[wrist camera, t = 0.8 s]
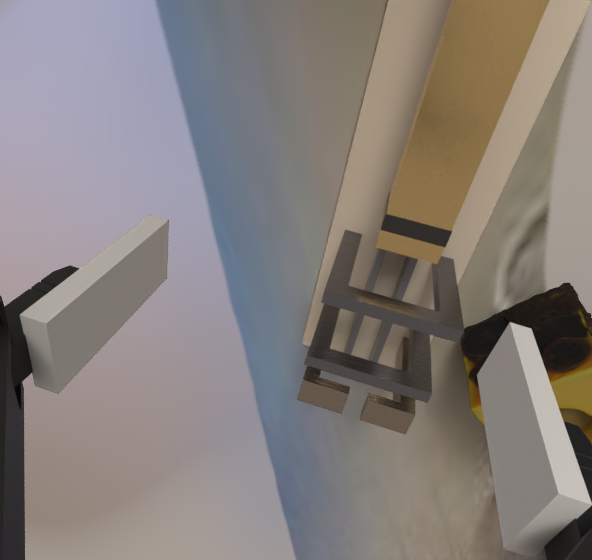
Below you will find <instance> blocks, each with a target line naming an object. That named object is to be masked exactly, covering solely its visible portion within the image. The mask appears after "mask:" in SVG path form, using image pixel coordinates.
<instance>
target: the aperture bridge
mask: <svg viewBox="0 0 592 560" xmlns="http://www.w3.org/2000/svg"><path fill="white" fill-rule="evenodd" d="M408 357H409V338H407V337H403V339H402V341H401V344H400V346H399V349H398V351H397V353H396V361H395V368H396V369H399V370H402V371H406V372H408ZM320 372H321V370H320V369H317V368H313V367H310V366H307V368H306V371H305V374H304V377H303V381H302V384H301V388H300V392H299V395H298V399H297V400H300V401H303V402H306V403H309V404H312V405H315V406H318V407H322V408H325V409H328V410H331V411H334V412H337V413H340V414H341V413H342V410H343V408H344V405H345V402H346V399H347V397H348V394H349V388H350V387H348V386H345V385H342V384H338V383H335V382H332V381H329V380H325V379H322V378H319V375H320ZM414 416H415V399H413V398H410V397H407V396H404V395H401V394H397V393H394V392H393V400H390V399H386V398H383V397H380V396H377V395H374V394H370V393H369V394H368V397H367V399H366V402H365V404H364V407H363V409H362V412H361V417H360V420H362V421H365V422H369V423H372V424H375V425H378V426H381V427H384V428H387V429H390V430H394V431H397V432H400V433H403V434H406V432H407V430H408V428H409V426H410V424H411V422H412V420H413V418H414Z"/></svg>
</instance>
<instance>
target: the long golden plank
mask: <svg viewBox="0 0 592 560" xmlns="http://www.w3.org/2000/svg"><path fill="white" fill-rule="evenodd" d="M549 1H550V0H451V2H450V5H449V8H448V12H447V15H446V18H445V21H444V24H443V27H442V30H441V33H440V37H439V40H438V43H437V46H436V49H435V52H434V55H433V59H432V62H431V65H430V68H429V71H428V74H427V77H426V80H425V84H424V87H423V90H422V93H421V96H420V99H419V102H418V105H417V109H416V112H415V115H414V118H413V121H412V124H411V127H410V130H409V134H408V137H407V140H406V143H405V146H404V149H403V152H402V155H401V159H400V162H399V165H398V168H397V171H396V174H395V177H394V180H393V184H392V187H391V190H390V192H389V194H388V197H387V200H386V203H385V207H384V212H383V215H382V218H381V221H380V225H379V231H378V236H377V241H376V248H380V249H383V250H387V251H391V252H394V253H398V254H401V255H405V256H409V257H412V258H416V259H420V260H423V261H427V262H430V263H434V264H438V262H439V259H440V257H441V255H442V252H443V250H444V248H446V245H447V243H448V241H449V238H450V236H451V234H452V229H453V226H454V224H455V222H456V219H457V217H458V215H459V212H460V210H461V208H462V205H463V203H464V201H465V198H466V196H467V194H468V191H469V189H470V186H471V184H472V182H473V179H474V177H475V175H476V172H477V170H478V168H479V165H480V163H481V161H482V158H483V156H484V154H485V151H486V149H487V146H488V144H489V142H490V139H491V137H492V135H493V132H494V130H495V128H496V125H497V123H498V121H499V118H500V116H501V113H502V111H503V109H504V106H505V104H506V102H507V99H508V97H509V95H510V92H511V90H512V88H513V85H514V83H515V81H516V78H517V76H518V73H519V71H520V69H521V66H522V64H523V62H524V59H525V57H526V55H527V52H528V50H529V48H530V45H531V43H532V41H533V38H534V36H535V33H536V31H537V29H538V26H539V24H540V22H541V19H542V17H543V15H544V12H545V10H546V8H547V5H548V3H549Z"/></svg>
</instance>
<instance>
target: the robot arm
mask: <svg viewBox="0 0 592 560" xmlns="http://www.w3.org/2000/svg"><path fill="white" fill-rule="evenodd" d="M168 226H169V220H167V219H163V218H160V217H157V216H154V215H149V216H148V217H146V218H145V219H144V220H143V221H141V222H140V223H139V224H137V225H136V226H135V227H133V228H132V229H131V230H129V231H128V232H127V233H126V234H124V235H123V236H122V237H120V238H119V239H118V240H116V241H115V242H114V243H113V244H111V245H110V246H109V247H107V248H106V249H105V250H104V251H102V252H101V253H100V254H98V255H97V256H96V257H94V258H93V259H92V260H90V261H89V262H88V263H87V264H85V265H84V266H83V267H81V268H80V269H79V268H76V267H73V266H67V267H65V268H62V269H59V270H56V271H54V272H52V273H51V274H49V275H48V276H47V277H45V278H44V279H43V280H41V282H38V283H37V284H35V285H34V286H33V287H32V288H31V290H30V289H29V290H27V291H26V292H24V293H23V294H22V295H20V296H19V297H17V298H16V299H15V300H13V301H12V302H10V303H9V304H8V305H6V306H5V307H4V304H3V301H2V298H1V296H0V560H25V515H24V514H25V512H24V508H25V507H24V388H23V384H22V381H23V380H24V379H25V378H26V377H28V376H29V375H30V374H31V373H32V374H33V379H34V383H35V386H37V387H40V388H43V389H46V390H49V391H51V392H54V393H57V394H59V393H60V392H61V391H62V390H63V389H64V387H65V386H66V385H67V384H68V383H69V382H70V381H71V380H72V379H73V378H74V377H75V376H76V375H77V374H78V372H79V371H80V370H81V369H82V368H83V367H84V366H85V365H86V364H87V363H88V362H89V361H90V360H91V359H92V358H93V356H94V355H95V354H96V353H97V352H98V351H99V350H100V349H101V348H102V347H103V346H104V345H105V344H106V342H108V340H109V339H110V338H111V337H112V336H113V335H114V334H115V333H116V332H117V331H118V330H119V329H120V328H121V327H122V325H123V324H124V323H125V322H126V321H127V320H128V319H129V318H130V317H131V316H132V315H133V314H134V313H135V312H136V310H138V308H139V307H140V306H141V305H142V304H143V303H144V302H145V301H146V300H147V299H148V298H149V297H150V296H151V295H152V294H153V292H154V291H155V290H156V289H157V288H158V287H159V286H160V285H161V284H162V283H163V282H164V281H165V279H167V261H168V260H167V259H168V228H169V227H168ZM477 378H478V385H479V391H480V398H481V404H482V411H483V417H484V424H485V430H486V437H487V443H488V450H489V456H490V463H491V469H492V476H493V482H494V489H495V495H496V502H497V508H498V515H499V521H500V528H501V534H502V541H503V547H504V549H506V550H509V551H512V552H515V553H518V554H520V555H523V556H526V557H529V558H532V559H533V558H534V557H535V556H536V555H537V554H538V553H539V552H541V551H542V550H543V549H544V548H545V552H546V557H547V560H592V444H591V442H590V440H589V439H588V438H587V436H586V435H585V434H584V432H583V431H582V430H581V429H580V427H579V426H578V425H575V424H572V423H569V422H565V421H563V419H562V416H561V413H560V410H559V407H558V404H557V401H556V398H555V395H554V393H553V390H552V387H551V384H550V381H549V378H548V375H547V372H546V369H545V366H544V364H543V361H542V358H541V355H540V352H539V349H538V346H537V343H536V340H535V338H534V335H533V332H532V329H531V328H528V327H524V326H521V325H518V324H514V323H511V322H510V323H509V324H508V326H507V328H506V329H505V331H504V332H503V334H502V336H501V337H500V339H499V340H498V342H497V344H496V345H495V347H494V348H493V350H492V352H491V353H490V355H489V357H488V358H487V360H486V361H485V363H484V365H483V366H482V368H481V369H480V371H479V373H478V374H477Z"/></svg>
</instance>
